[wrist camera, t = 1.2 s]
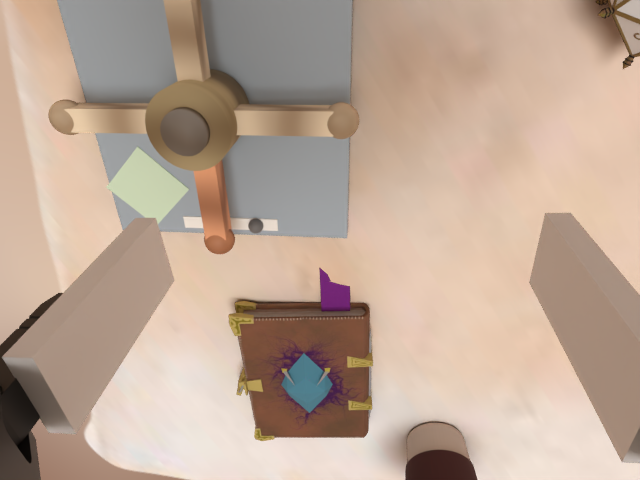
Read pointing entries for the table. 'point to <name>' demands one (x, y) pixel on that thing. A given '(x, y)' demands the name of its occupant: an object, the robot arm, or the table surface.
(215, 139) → the capstan
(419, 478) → the coffee cup
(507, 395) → the table surface
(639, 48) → the game die
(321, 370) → the book
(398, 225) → the table surface
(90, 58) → the plate
